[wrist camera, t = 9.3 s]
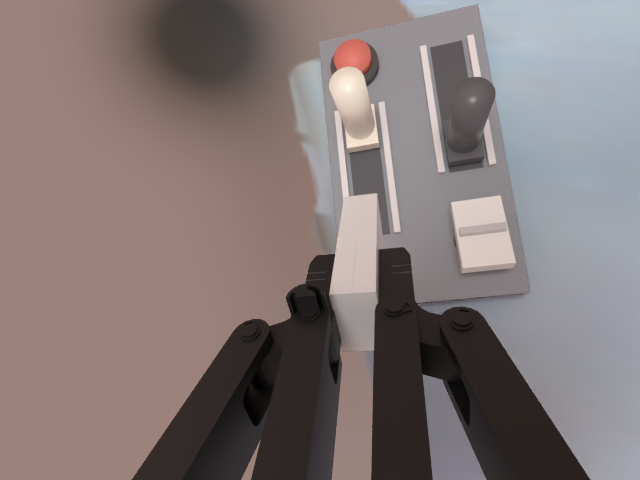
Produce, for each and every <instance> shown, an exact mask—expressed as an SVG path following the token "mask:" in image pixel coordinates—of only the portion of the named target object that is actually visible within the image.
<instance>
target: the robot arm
mask: <svg viewBox="0 0 640 480" xmlns="http://www.w3.org/2000/svg"><path fill="white" fill-rule="evenodd" d="M286 300H287V303H288V306H289V309H290V312H291V318H290V319H288V320H286V321H284V322H282V323H278V324H275V325H272V326H269V325H268V324H267V323H266V322H265V321H263V320H261V319H252V320H249V321H245V322H244V323H242V324H241V325H239V326H238V327H237V328H236V329H235V330H234V331H233V333H232V334H231V336H230V337H229V339H228V340H227V342H226V343H225V345H224V346H223V347H222V349H221V350H220V352H219V353H218V355H217V356H216V358H215V359H214V361H213V362H212V364H211V365H210V367H209V368H208V369H207V371H206V372H205V374H204V375H203V377H202V378H201V379H200V381H199V382H198V384H197V385H196V387H195V389H194V390H193V391H192V393H191V394H190V396H189V397H188V398H187V400H186V401H185V403H184V404H183V406H182V407H181V409H180V410H179V412H178V413H177V415H176V416H175V418H174V419H173V420H172V422H171V423H170V425H169V426H168V428H167V429H166V431H165V432H164V433H163V435H162V436H161V438H160V439H159V441H158V442H157V444H156V445H155V447H154V448H153V450H152V451H151V452H150V454H149V455H148V457H147V458H146V460H145V461H144V463H143V464H142V466H141V467H140V469H139V470H138V471H137V473H136V474H135V476H134V477H133V479H132V480H241V478H242V476H243V474H244V472H245V470H246V468H247V466H248V464H249V462H250V460H251V458H252V456H253V454H254V452H255V450H256V447H257V445H258V443H259V441H260V439H261V441H260V445H259V450H258V453H257V458H256V462H255V466H254V470H253V474H252V478H251V480H331V478H332V468H333V457H334V446H335V435H336V425H337V414H338V402H339V392H340V381H341V369H342V362H341V357H340V346H342V350H343V352H353V351H374V375H373V425H372V429H373V430H372V475H371V480H433V478H432V468H431V458H430V447H429V437H428V427H427V417H426V407H425V396H424V386H423V376H422V374H424V375H427V376H431V377H435V378H439V379H442V380H443V383H444V385H445V387H446V390H447V392H448V394H449V396H450V399H451V401H452V403H453V405H454V408H455V410H456V412H457V414H458V417H459V419H460V421H461V423H462V426H463V428H464V430H465V432H466V435H467V437H468V439H469V441H470V443H471V446H472V448H473V450H474V452H475V455H476V457H477V459H478V461H479V464H480V466H481V468H482V470H483V473H484V475H485V477H486V479H487V480H590V479H589V477H588V476H587V474H586V473H585V471H584V470H583V468H582V466H581V465H580V463H579V462H578V460H577V459H576V457H575V456H574V454H573V453H572V451H571V450H570V448H569V447H568V445H567V444H566V442H565V441H564V439H563V437H562V436H561V434H560V433H559V431H558V430H557V428H556V427H555V425H554V424H553V422H552V421H551V419H550V418H549V416H548V415H547V413H546V412H545V410H544V408H543V407H542V405H541V404H540V402H539V401H538V399H537V398H536V396H535V395H534V393H533V392H532V390H531V389H530V387H529V386H528V384H527V383H526V381H525V379H524V378H523V376H522V375H521V373H520V372H519V370H518V369H517V367H516V366H515V364H514V363H513V361H512V360H511V358H510V357H509V355H508V354H507V352H506V351H505V349H504V347H503V346H502V344H501V343H500V341H499V340H498V338H497V337H496V335H495V334H494V332H493V331H492V329H491V328H490V326H489V325H488V323H487V322H486V320H485V318H484V317H483V316H482V315H481V314H480V313H479V312H477V311H475V310H473V309H471V308H467V307H453V308H451V309H448V310H446V311H445V312H444V313H443V314H442V315H439V314H434V313H430V312H427V311H425V310H423V309H422V308H421V307H419V306H418V304H417V303H416V300H415V296H414V286H413V276H412V266H411V256H410V254H409V252H408V251H407V250H406V249H405V248H404V247H399V248H388V249H384V240H383V233H382V225H381V218H380V210H379V203H378V195H377V193H374V194H365V195H357V196H348V197H344V201H343V207H342V214H341V220H340V227H339V233H338V240H337V246H336V253H335V254H329V255H318V256H316V257H315V258H314V259H313V261H312V262H311V263H310V265H309V270H308V274H307V279H306V283H305V284H302V285H299V286H297V287H295V288H293V289H292V290H291V291H290V292H289V293H288V294H287V296H286Z"/></svg>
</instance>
